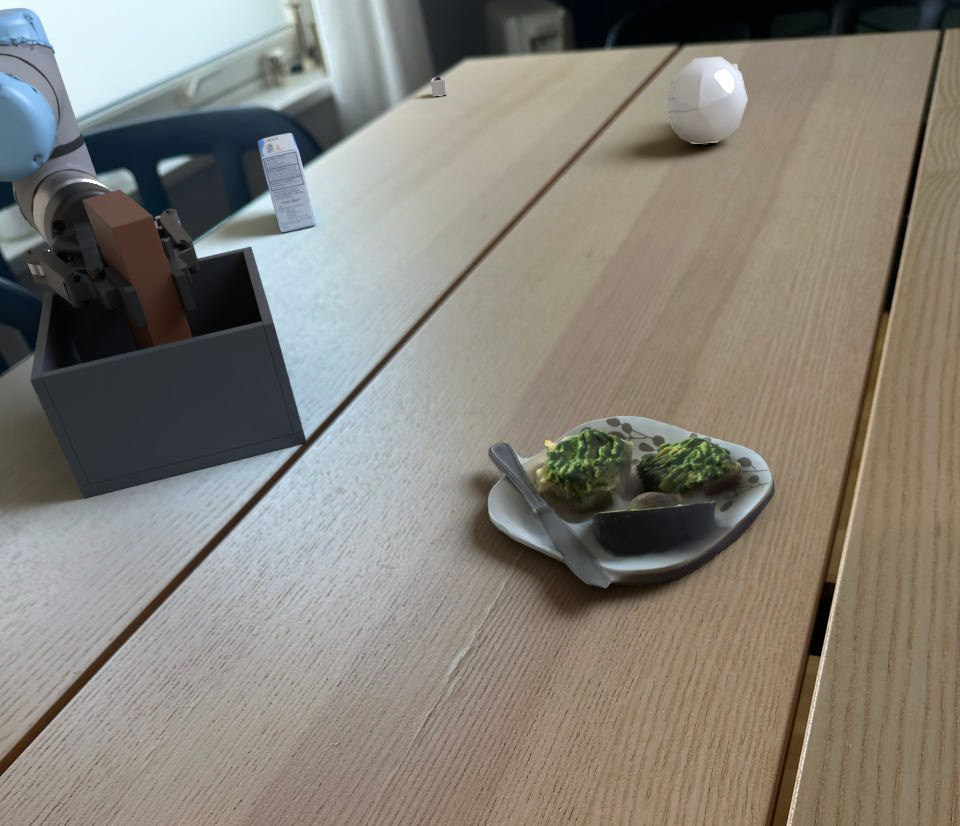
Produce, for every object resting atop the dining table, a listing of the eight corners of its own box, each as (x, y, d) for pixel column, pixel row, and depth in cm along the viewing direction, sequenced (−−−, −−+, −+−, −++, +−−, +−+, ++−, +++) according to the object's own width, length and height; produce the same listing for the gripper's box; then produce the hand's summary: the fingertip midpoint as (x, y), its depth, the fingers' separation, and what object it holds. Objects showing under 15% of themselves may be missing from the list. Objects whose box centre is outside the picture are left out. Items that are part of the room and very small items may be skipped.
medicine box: (317, 226, 119) (299, 148, 114) (280, 234, 119) (260, 156, 113) (310, 206, 125) (293, 131, 120) (275, 214, 125) (255, 138, 119)
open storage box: (83, 498, 78) (29, 379, 72) (89, 400, 91) (44, 292, 85) (306, 442, 80) (273, 322, 74) (281, 354, 93) (251, 246, 87)
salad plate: (413, 521, 70) (401, 463, 67) (582, 410, 78) (578, 355, 75) (635, 630, 58) (633, 567, 55) (805, 487, 67) (811, 425, 64)
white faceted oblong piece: (686, 170, 121) (708, 146, 133) (757, 114, 116) (774, 94, 127) (641, 102, 119) (668, 84, 130) (711, 41, 113) (733, 28, 124)
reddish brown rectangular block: (167, 384, 79) (111, 227, 71) (136, 347, 85) (81, 199, 77) (203, 371, 80) (152, 215, 72) (170, 336, 86) (120, 189, 78)
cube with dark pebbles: (446, 96, 158) (443, 78, 157) (433, 97, 159) (430, 80, 157) (447, 92, 160) (445, 74, 158) (434, 94, 160) (431, 76, 159)
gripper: (185, 241, 95) (276, 315, 79) (14, 294, 90) (73, 384, 74) (159, 157, 90) (249, 217, 74) (-23, 207, 85) (31, 284, 69)
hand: (161, 301), depth 74 cm, fingers closed on reddish brown rectangular block, 3 cm apart
